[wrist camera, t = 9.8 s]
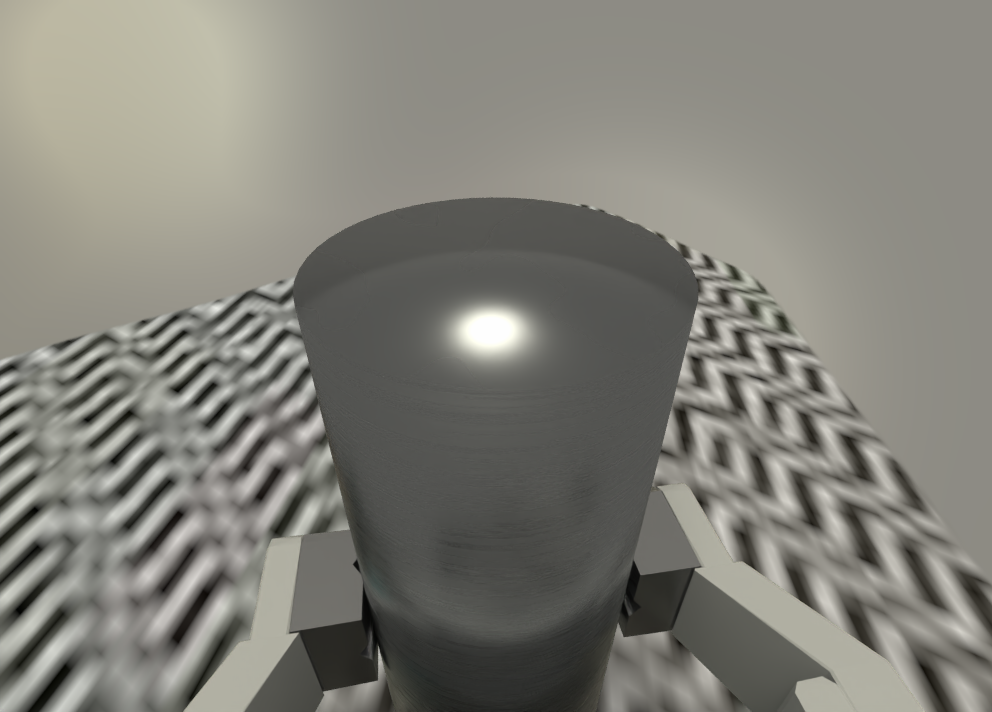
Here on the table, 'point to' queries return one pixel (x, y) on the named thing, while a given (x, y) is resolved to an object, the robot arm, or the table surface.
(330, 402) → the steel pin
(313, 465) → the table surface
